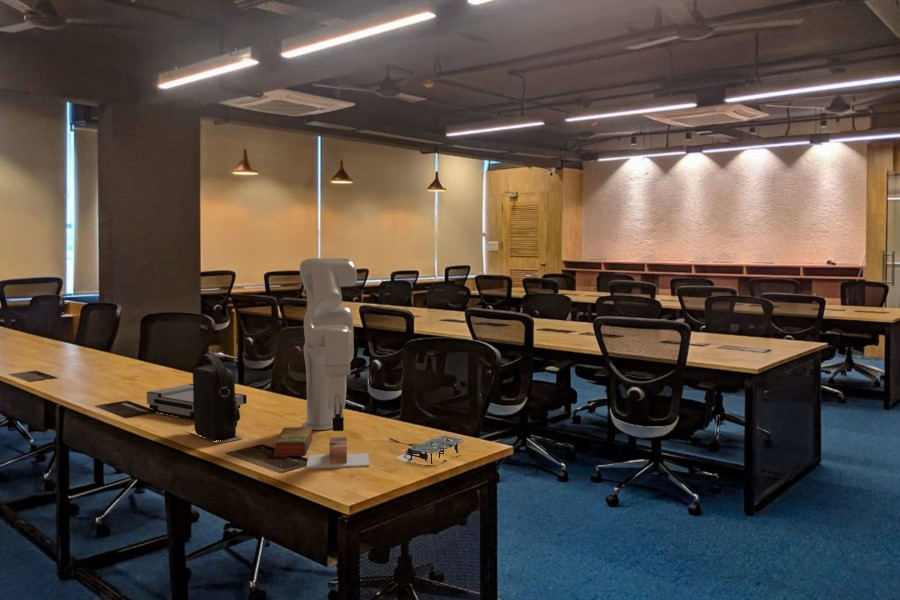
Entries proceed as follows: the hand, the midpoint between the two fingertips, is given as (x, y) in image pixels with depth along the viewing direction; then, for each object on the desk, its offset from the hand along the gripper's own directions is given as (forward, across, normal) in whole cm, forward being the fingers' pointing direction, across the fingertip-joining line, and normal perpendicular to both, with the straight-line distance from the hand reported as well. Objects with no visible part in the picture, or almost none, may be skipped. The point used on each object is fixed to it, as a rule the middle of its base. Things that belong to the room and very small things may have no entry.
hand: (338, 430), depth 215 cm
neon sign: (+9, -5, +24) cm, 26 cm away
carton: (+9, -14, -14) cm, 22 cm away
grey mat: (+9, +3, 0) cm, 9 cm away
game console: (+9, -70, -55) cm, 90 cm away
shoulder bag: (+9, -33, -42) cm, 54 cm away
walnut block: (+6, -4, 0) cm, 7 cm away
